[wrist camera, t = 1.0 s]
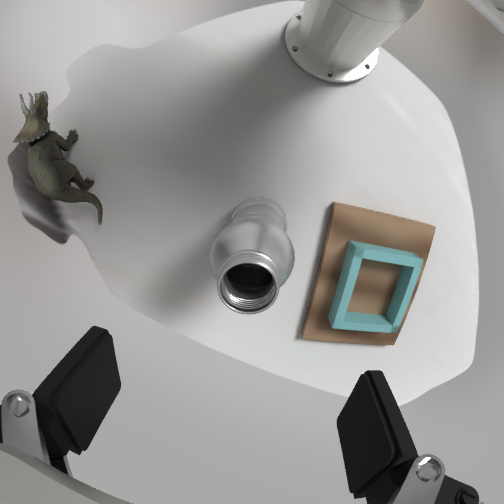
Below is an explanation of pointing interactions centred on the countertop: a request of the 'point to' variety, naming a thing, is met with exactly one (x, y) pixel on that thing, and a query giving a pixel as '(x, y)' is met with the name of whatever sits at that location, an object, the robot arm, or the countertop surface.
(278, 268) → the silver aluminum bottle
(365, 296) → the walnut jig board
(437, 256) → the countertop surface
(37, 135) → the dinosaur figurine
